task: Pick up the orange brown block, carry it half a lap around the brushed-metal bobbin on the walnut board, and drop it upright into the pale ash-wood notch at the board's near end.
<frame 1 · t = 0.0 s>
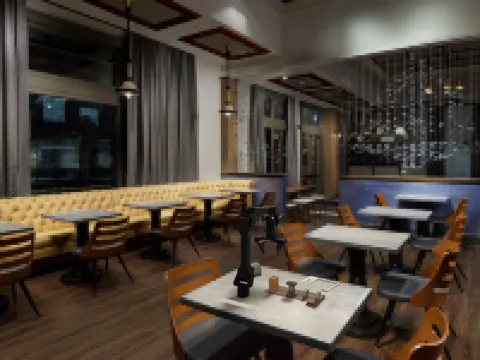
hand: (270, 255, 193), 15 cm above the table, fingers open, 9 cm apart
orange brown block: (273, 290, 175), point 1 cm above the table, touching winding board
photo frame: (318, 285, 189), on the table
ceramic mug: (254, 277, 202), on the table
winding board: (292, 298, 169), on the table
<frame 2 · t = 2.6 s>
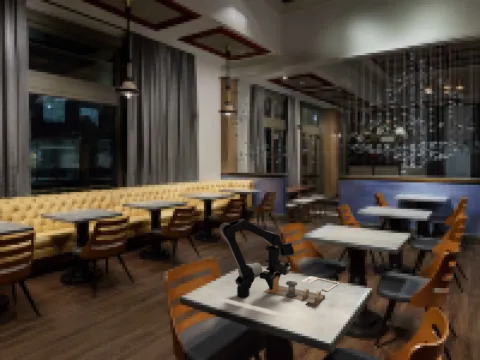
hand: (273, 287, 175), 3 cm above the table, fingers closed on orange brown block, 5 cm apart
orange brown block: (273, 290, 175), point 1 cm above the table, touching gripper, winding board
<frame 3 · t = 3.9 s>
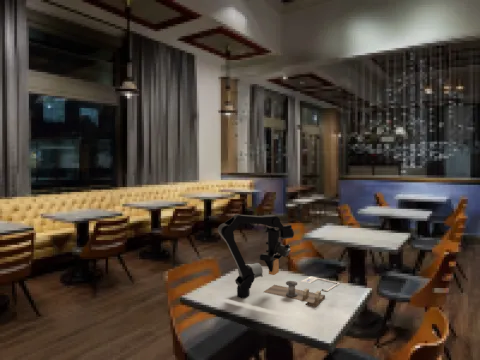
hand: (273, 270, 175), 12 cm above the table, fingers closed on orange brown block, 5 cm apart
orange brown block: (273, 273, 175), point 11 cm above the table, touching gripper
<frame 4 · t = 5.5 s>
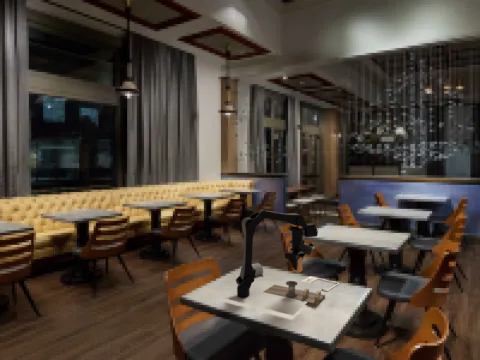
hand: (297, 268, 177), 12 cm above the table, fingers closed on orange brown block, 5 cm apart
orange brown block: (297, 271, 177), point 11 cm above the table, touching gripper
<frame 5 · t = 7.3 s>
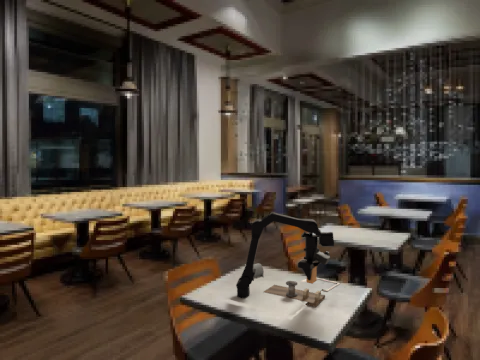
hand: (311, 278, 165), 11 cm above the table, fingers closed on orange brown block, 5 cm apart
orange brown block: (311, 281, 165), point 10 cm above the table, touching gripper
when the fingers open (5 cm above the table, at t = 8.7 s): orange brown block drops 2 cm, resting on winding board.
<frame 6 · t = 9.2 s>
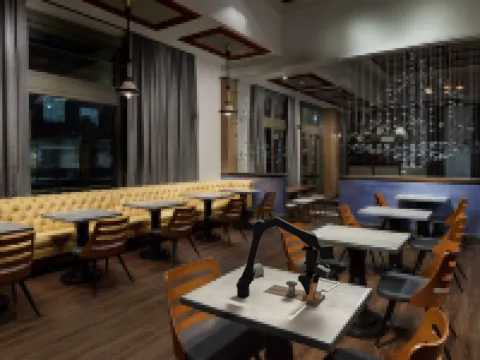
hand: (311, 291, 165), 5 cm above the table, fingers open, 9 cm apart
orange brown block: (311, 298, 165), point 1 cm above the table, touching winding board
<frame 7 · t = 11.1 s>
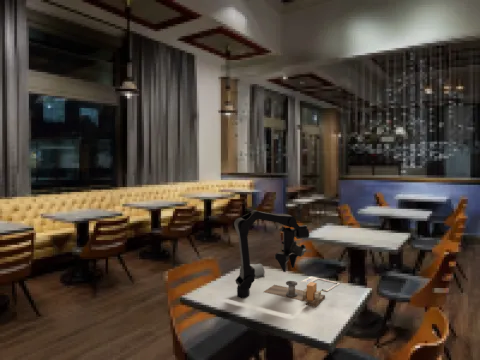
hand: (288, 269, 177), 12 cm above the table, fingers open, 9 cm apart
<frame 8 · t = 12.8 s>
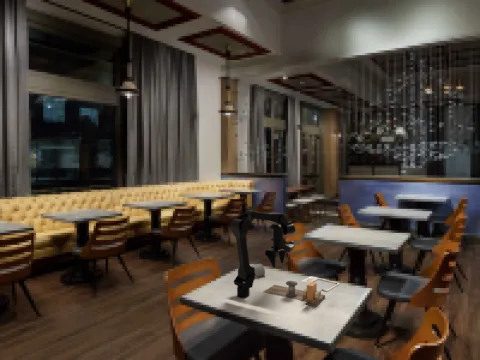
hand: (278, 265, 183), 12 cm above the table, fingers open, 9 cm apart
at the end: orange brown block 0.1 cm from the target spot, point 1.5 cm above the table; orange brown block tilted 0°; the gripper is holding nothing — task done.
